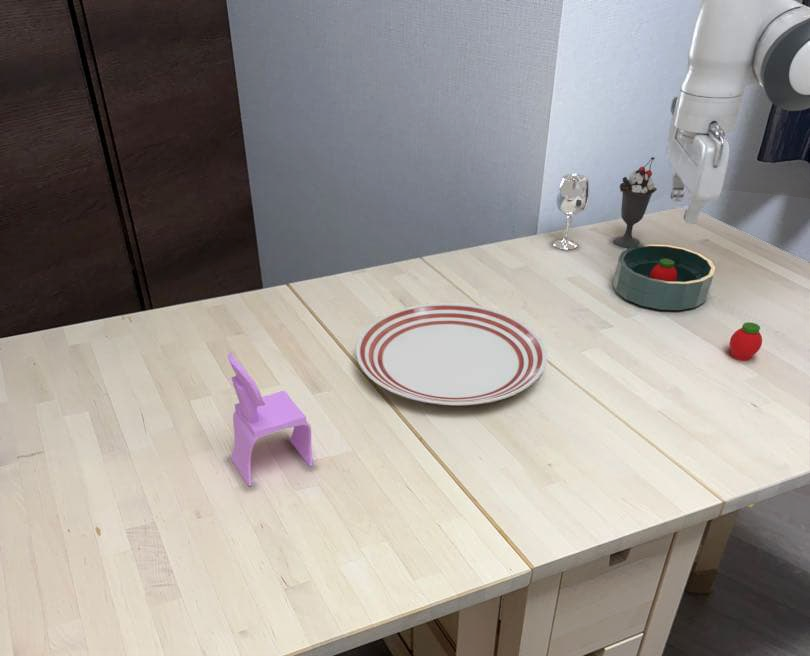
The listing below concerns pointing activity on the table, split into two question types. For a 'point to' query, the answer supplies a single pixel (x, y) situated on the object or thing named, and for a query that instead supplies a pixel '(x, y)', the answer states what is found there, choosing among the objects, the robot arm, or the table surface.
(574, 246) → the wineglass
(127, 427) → the table surface
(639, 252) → the bowl
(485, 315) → the dinner plate
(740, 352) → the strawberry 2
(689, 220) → the robot arm
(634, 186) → the sundae
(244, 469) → the toy chair
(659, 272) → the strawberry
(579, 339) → the table surface
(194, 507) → the table surface
